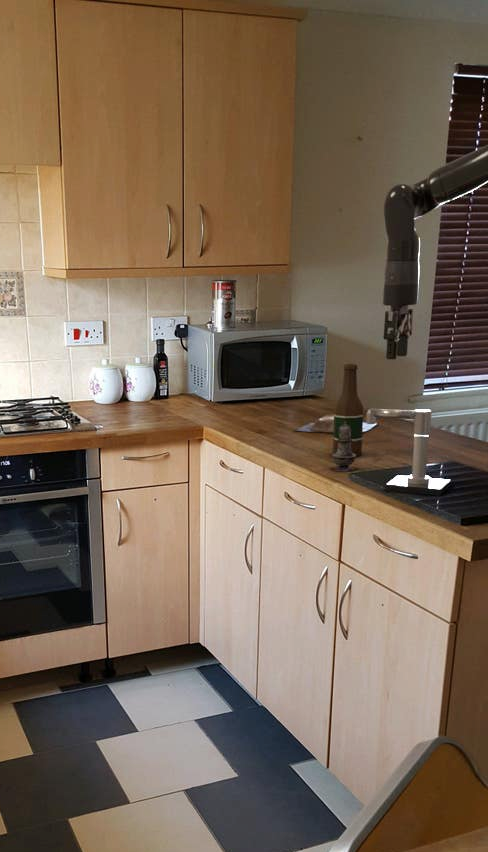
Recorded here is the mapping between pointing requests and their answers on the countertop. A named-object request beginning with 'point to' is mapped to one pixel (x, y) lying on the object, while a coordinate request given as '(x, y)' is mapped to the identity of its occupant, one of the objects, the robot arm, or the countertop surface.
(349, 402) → the beer bottle
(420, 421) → the spout
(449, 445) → the countertop surface
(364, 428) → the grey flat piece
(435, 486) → the faucet base
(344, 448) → the grey figurine
